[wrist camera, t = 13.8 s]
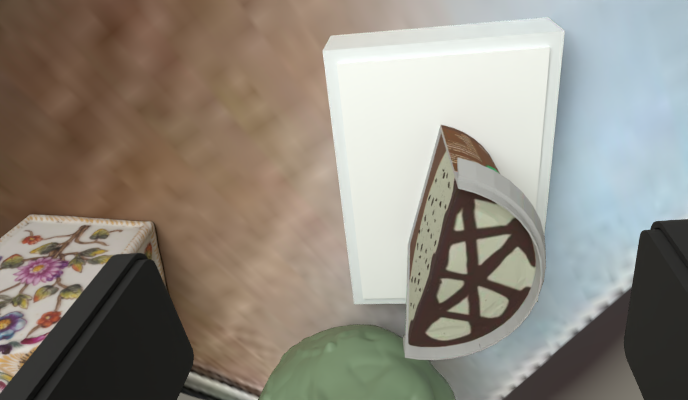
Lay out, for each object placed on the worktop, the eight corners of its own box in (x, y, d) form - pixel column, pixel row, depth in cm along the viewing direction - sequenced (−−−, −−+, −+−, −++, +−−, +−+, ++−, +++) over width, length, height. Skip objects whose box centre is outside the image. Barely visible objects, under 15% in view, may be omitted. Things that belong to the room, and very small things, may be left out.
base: (548, 17, 33) (566, 32, 29) (527, 269, 43) (538, 304, 39) (330, 35, 35) (322, 52, 31) (357, 273, 45) (353, 306, 41)
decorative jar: (61, 312, 51) (-89, 493, 36) (26, 210, 45) (-172, 373, 30) (179, 321, 50) (78, 511, 35) (159, 219, 44) (26, 392, 29)
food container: (485, 275, 38) (508, 384, 30) (403, 259, 38) (402, 364, 30) (545, 121, 32) (596, 202, 23) (446, 102, 32) (461, 177, 24)
